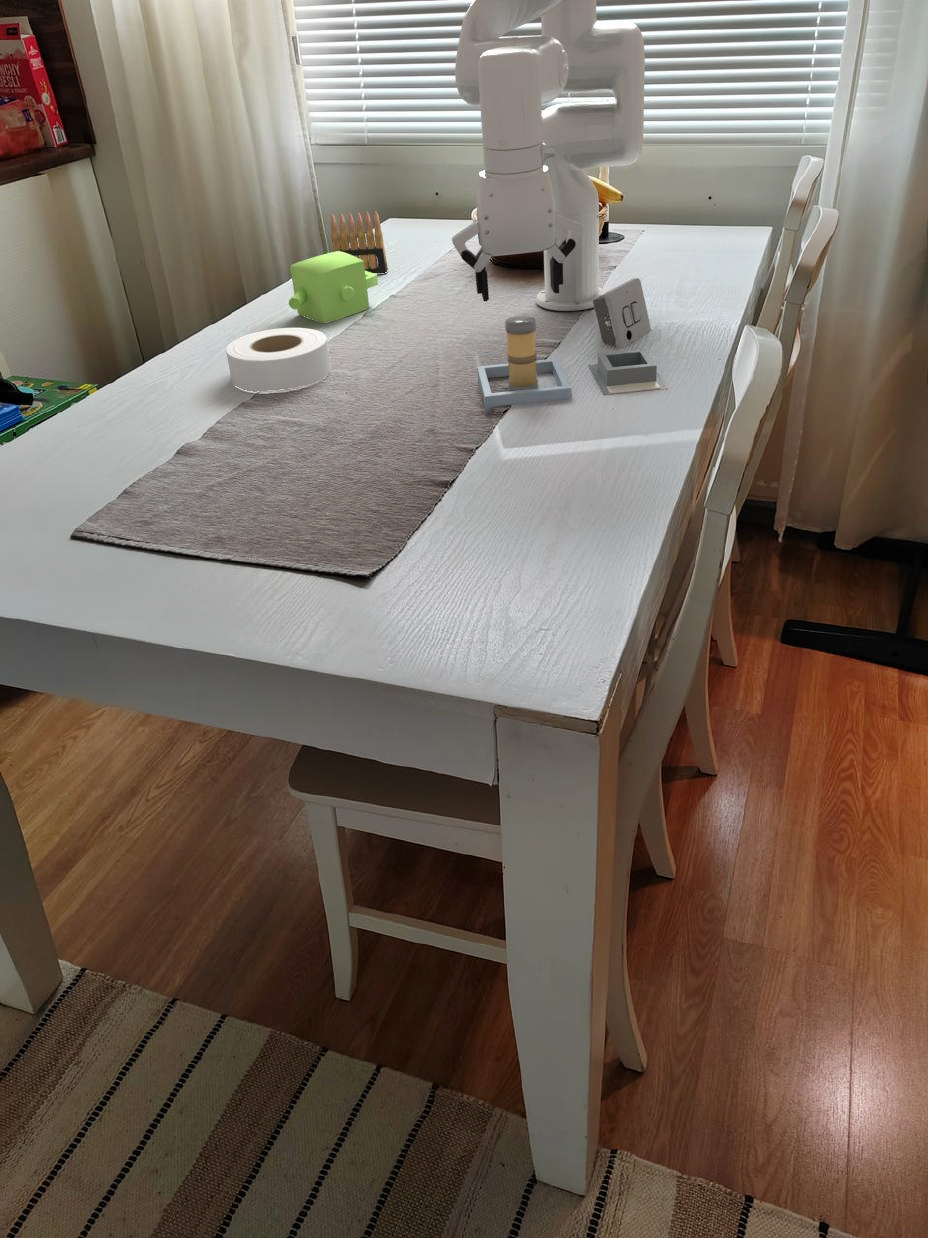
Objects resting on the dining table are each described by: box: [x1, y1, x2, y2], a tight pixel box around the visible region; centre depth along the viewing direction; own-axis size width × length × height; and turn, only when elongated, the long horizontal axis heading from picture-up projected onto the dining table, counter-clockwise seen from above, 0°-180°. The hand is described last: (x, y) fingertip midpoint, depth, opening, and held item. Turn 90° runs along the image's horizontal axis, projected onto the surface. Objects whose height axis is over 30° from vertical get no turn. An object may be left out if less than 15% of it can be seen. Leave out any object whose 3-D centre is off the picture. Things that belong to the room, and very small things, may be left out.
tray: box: [476, 357, 572, 414], centre depth 141 cm, size 12×12×2 cm
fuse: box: [504, 315, 539, 391], centre depth 139 cm, size 4×4×10 cm
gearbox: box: [288, 251, 379, 324], centre depth 178 cm, size 18×10×10 cm, turn 130°
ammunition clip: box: [330, 210, 389, 273], centre depth 199 cm, size 11×2×12 cm, turn 85°
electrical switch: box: [593, 277, 652, 349], centre depth 154 cm, size 9×5×9 cm, turn 141°
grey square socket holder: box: [587, 348, 668, 396], centre depth 141 cm, size 12×9×4 cm
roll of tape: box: [225, 327, 332, 392], centre depth 155 cm, size 16×16×6 cm
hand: (520, 294), depth 135 cm, fingers open, 9 cm apart
